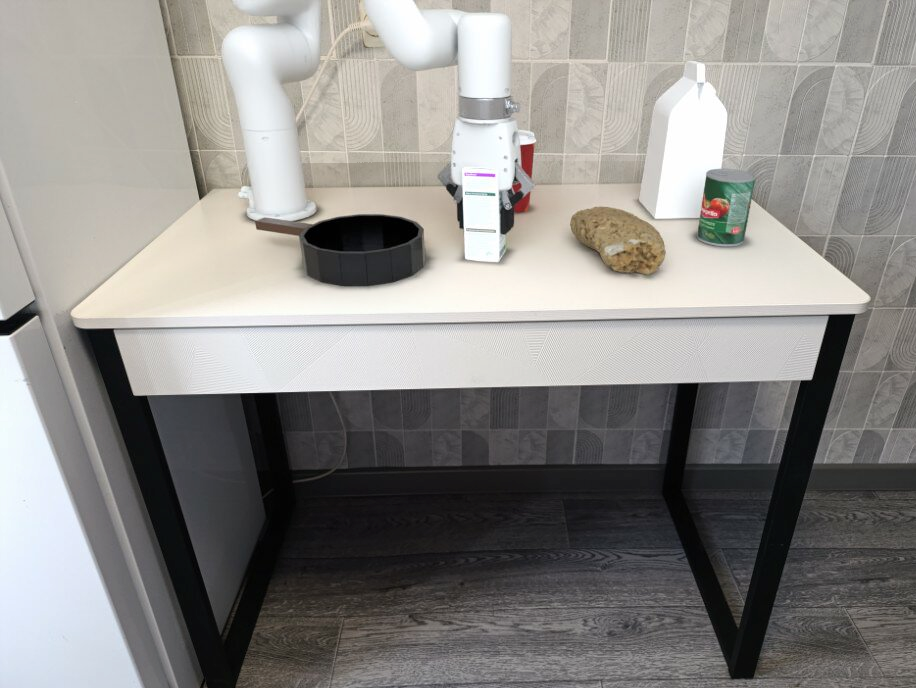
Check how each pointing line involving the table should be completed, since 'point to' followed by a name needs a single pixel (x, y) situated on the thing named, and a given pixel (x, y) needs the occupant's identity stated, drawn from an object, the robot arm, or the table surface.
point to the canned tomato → (725, 207)
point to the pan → (356, 247)
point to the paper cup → (525, 166)
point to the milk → (683, 146)
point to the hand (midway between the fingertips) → (485, 228)
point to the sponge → (620, 239)
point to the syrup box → (482, 215)
